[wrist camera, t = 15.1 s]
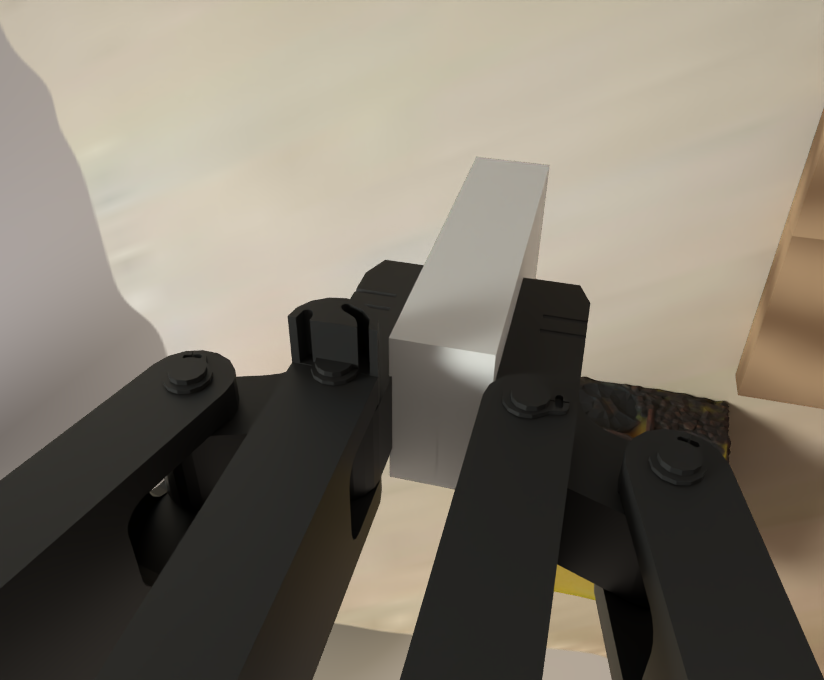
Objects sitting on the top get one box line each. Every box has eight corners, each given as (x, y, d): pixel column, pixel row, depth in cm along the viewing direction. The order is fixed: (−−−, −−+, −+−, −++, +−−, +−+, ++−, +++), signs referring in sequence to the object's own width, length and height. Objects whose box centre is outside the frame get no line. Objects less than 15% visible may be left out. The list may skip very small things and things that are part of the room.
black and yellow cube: (730, 399, 49) (743, 517, 41) (691, 507, 55) (696, 628, 47) (568, 370, 51) (552, 477, 43) (547, 477, 57) (529, 589, 49)
